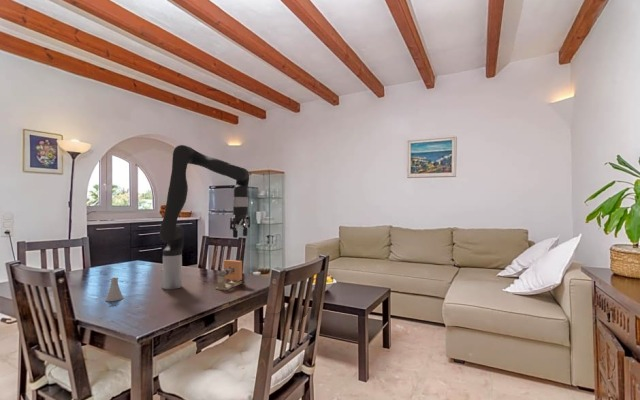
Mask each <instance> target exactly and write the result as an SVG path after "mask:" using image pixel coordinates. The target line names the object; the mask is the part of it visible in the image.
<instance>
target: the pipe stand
mask: <svg viewBox="0 0 640 400" xmlns="http://www.w3.org/2000/svg"><path fill="white" fill-rule="evenodd" d="M230 273H234V267H232V268H230V269H226V270H224V269H223V270H221V271H219V272H218V274H217V275H218V276H217V286H216V287H215V288H214V289H215V290H218V291H227V290H229V289H231V288H234V287H237V286H239V285H241V284H243V281H241V280H230V281H228V282H227V281H226V280H227V279H226V276H224V275H228V274H230Z"/></svg>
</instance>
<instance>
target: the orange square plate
mask: <svg viewBox="0 0 640 400" xmlns="http://www.w3.org/2000/svg"><path fill="white" fill-rule="evenodd" d="M233 267H234V273H230V274H228V275H224V276H226V280H230V281H232V280H240V281H241V280H243V260H234V259H225V260H223V270H226V269H230V268H233Z"/></svg>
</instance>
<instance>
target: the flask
mask: <svg viewBox="0 0 640 400" xmlns="http://www.w3.org/2000/svg"><path fill="white" fill-rule="evenodd" d="M109 280H110V287H109V290H108V292H107V295H106V298H105V301H106V302H116V301H122V299H124V296H123V293H122V291H121V289H120V287H119V281H118V280H119V277H111V278H110V279H109Z"/></svg>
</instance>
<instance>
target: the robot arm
mask: <svg viewBox="0 0 640 400" xmlns="http://www.w3.org/2000/svg"><path fill="white" fill-rule="evenodd" d="M171 161H172V164H171V173H170V180H169V186H168V190H167V196H166V204H165V209H164V215H163V220H162V221H161V225H160V230H159V239H160V240H161V241H162V243H166V246H165V247H164V249H162V269H161V271H160V273H161V275H160V276H161V277H160V278H161V279H160V280H161V281H160V282H161V283H160V284H161V288H162V289H163V290H175V289H179V288H180V289H181V288H182V286H183V281H182V280H183V256H182V255H183V250H184V241H185V240H184V238H185V235H184V233H185V232H184V229H183V226H181V225H180V224H179V223H178V218H179V215H180V213H181V211H182V210H183V208H184V207H185V204H186V201H187V199H188V198H187V196H188V191H189V187H188V180H187V169H188V165H195V166H200V167H202V168H205V169H207V170H208V171H212V172H213V173H216V174H219V175H222V176H224V177H228V178H230V179H232V180H235V186H234V189H233V202H232V206H233V207H232V208H233V209H232V215H234V217H231V216H230V218H229V219H230V222H229V229H230V230H232V237H233V238H234V239H236V238H238V234H239V233H238V230H239V228H241V227H242V229H243V230H242V236H243V237H247V236H248V229H249V228H251V217H250V216H248V214H249V200H248V199H249V197H248V196H249V195H248V194H249V193H248V192H249V191H248V189H249V183H250V173H249V171H248V170H247V169H246V168H244V167H241V166H237V165H235V164H231V163H229V162H227V161H224V160H222V159H218V158H215V157H211V156H208V155H205V154H203V153H201V152H199V151H197V150H195V149H194V148H193V147H190V146H188V145H185V144H179V145H177V146H175V148H174V149H173V151H172V160H171ZM240 226H241V227H240Z"/></svg>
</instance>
